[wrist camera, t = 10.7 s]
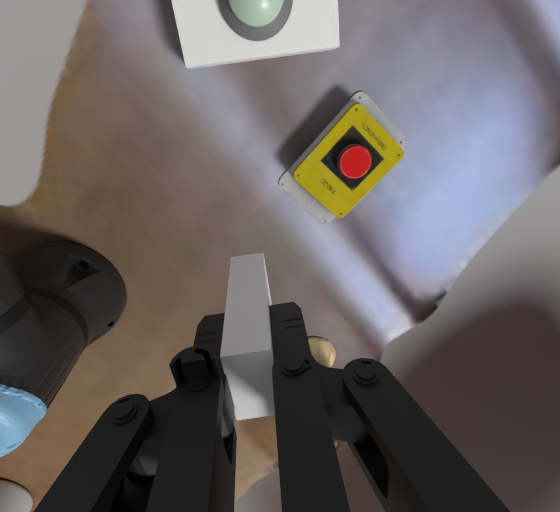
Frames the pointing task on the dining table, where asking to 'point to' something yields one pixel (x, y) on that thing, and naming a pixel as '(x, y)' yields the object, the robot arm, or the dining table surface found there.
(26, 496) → the cylinder vase
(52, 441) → the dining table surface
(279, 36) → the button panel
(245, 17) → the sage-green button
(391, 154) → the emergency button
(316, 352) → the hand bell
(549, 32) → the dining table surface
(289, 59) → the dining table surface
